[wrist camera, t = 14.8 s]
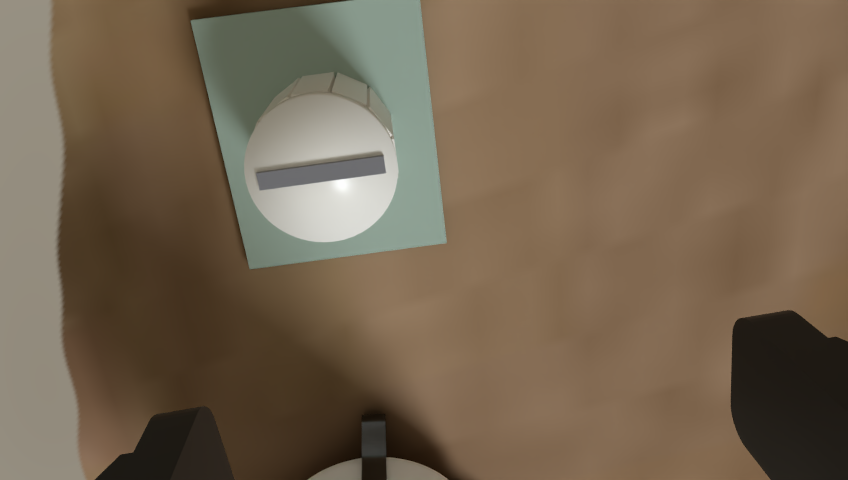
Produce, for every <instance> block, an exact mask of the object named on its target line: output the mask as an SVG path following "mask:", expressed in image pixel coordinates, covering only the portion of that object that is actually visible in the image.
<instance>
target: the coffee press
mask: <svg viewBox="0 0 848 480" xmlns="http://www.w3.org/2000/svg"><path fill="white" fill-rule="evenodd" d="M308 480H448V479H447V478H446V477H444V476H443V475H441V474H440V473H438V472H437V471H435V470H433V469H431V468H429V467H427V466H424V465H422V464H419V463H416V462H413V461H409V460H405V459H399V458H392V457H386V428H385V414H370V415H362V458H359V459H354V460H349V461H345V462H342V463H339V464H336V465H333V466H331V467H329V468H326V469H324V470H322V471H321V472H319V473H317V474H315V475H314V476H312V477H311V478H309V479H308Z"/></svg>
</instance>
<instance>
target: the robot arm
mask: <svg viewBox="0 0 848 480" xmlns="http://www.w3.org/2000/svg"><path fill="white" fill-rule="evenodd" d="M731 412H732V417H733V421H734V424H735V427H736V430H737V433H738V435H739V437H740V439H741V441H742V443H743V444H744V446H745V447H746V448H747V450H748V451H749V452H750V454H751V455H752V456H753V457H754V459H755V460H756V461H757V463H758V464H759V465H760V466H761V468H762V469H763V470H764V471H765V473H766V474H767V475H768V477H769V478H770V479H771V480H848V342H847V341H845V340H843V339H840V338H838V337H832V338H827V337H826V336H825V335H824V334H822V333H821V332H820V331H819V330H817V329H816V328H815V327H814V326H812V325H811V324H810V323H809V322H807V321H806V320H805V319H804V318H802V317H801V316H800V315H799V314H797V313H796V312H794V311H790V310H787V311H781V312H775V313H769V314H763V315H757V316H751V317H745V318H740V319H738V320H737V321H736V322H735V324H734V327H733V335H732V372H731ZM95 480H234V477H233V474H232V471H231V468H230V465H229V462H228V459H227V456H226V453H225V450H224V446H223V443H222V440H221V437H220V434H219V431H218V428H217V425H216V422H215V419H214V416H213V414H212V412H211V411H210V409H209V408H207V407H205V406H204V407H197V408H191V409H185V410H179V411H173V412H167V413H161V414H156V415H154V416H153V417H152V418H151V419H150V421H149V423H148V425H147V427H146V429H145V431H144V433H143V435H142V437H141V439H140V441H139V443H138V444H137V446H136V448H135V450H134V452H133V453H128V454H122V455H120V456H119V457H118V458H117V459H116V460H115V461H114V462H113V463H112V464H111V465H110V466H108V467H107V468H106V469H105V470H104V471H103V472H102V473H101V474H100V475H99V476H98V477H97V478H96V479H95Z"/></svg>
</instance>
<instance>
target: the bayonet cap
mask: <svg viewBox="0 0 848 480" xmlns="http://www.w3.org/2000/svg"><path fill="white" fill-rule="evenodd" d="M398 173H399V170H398V162H397V155H396V148H395V140H394V133H393V126H392V119H391V115H390V112H389V110H388V109H387V108H386V106H385V105H384V104H383V103H382V101H381V100H380V99H379V97H378V96H377V95H376V94H375V92H374V91H373V90H372V88H371V87H369V88H368V89H367V84H365V83H362V82H360V81H357V80H355V79H353V78H350V77H348V76H345V75H343V74H341V73H337V75H336V78H335V75H334V72H329V73H321V74H314V75H306V76H302V77H301V79H300V78H298V79H297V80H295V81H294V82H293V83H292V84H290V85H289V86H288V87H287V88H285V89H284V90H283V91H282V92H280V93H279V94H278V95H277V96H276V97H275V98H274V99H273V100H272V102H271V103H270V104H269V106H268V107H267V109H266V110H265V111H264V113H263V114H262V115H261V117H260V118H259V120H258V121H257V123H256V126H255V129H254V131H253V133H252V135H251V137H250V139H249V142H248V144H247V148H246V152H245V159H244V174H245V180H246V184H247V188H248V191H249V193H250V196H251V198H252V200H253V202H254V203H255V205H256V206H257V208H258V209H259V211H260V212H261V213H262V214H263V216H264V217H265V218H266V219H267V220H268V221H270V222H271V223H272V224H273V225H274V226H276V227H277V228H278V229H280V230H282V231H283V232H285V233H287V234H289V235H291V236H294V237H296V238H300V239H303V240H307V241H313V242H335V241H340V240H345V239H348V238H351V237H354V236H356V235H358V234H360V233H362V232H363V231H365V230H366V229H368V228H370V227H371V226H372V225H373V224H374V223H375V222H377V221H378V219H379V218H380V217H381V216H382V215H383V214H384V212H385V211H386V209H387V208H388V206H389V204H390V202H391V200H392V198H393V196H394V193H395V190H396V185H397V179H398Z"/></svg>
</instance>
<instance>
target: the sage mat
mask: <svg viewBox="0 0 848 480" xmlns="http://www.w3.org/2000/svg"><path fill="white" fill-rule="evenodd" d="M191 25H192V29H193V33H194V38H195V42H196V46H197V50H198V54H199V59H200V63H201V67H202V71H203V75H204V80H205V84H206V88H207V92H208V96H209V100H210V105H211V109H212V113H213V117H214V121H215V126H216V130H217V134H218V138H219V142H220V147H221V151H222V155H223V159H224V163H225V168H226V172H227V176H228V180H229V184H230V189H231V193H232V197H233V201H234V205H235V210H236V214H237V218H238V222H239V226H240V231H241V235H242V239H243V243H244V247H245V252H246V256H247V260H248V264H249V268H250V269H256V268H264V267H271V266H279V265H286V264H293V263H301V262H308V261H316V260H323V259H331V258H338V257H346V256H353V255H360V254H368V253H375V252H383V251H390V250H398V249H405V248H412V247H420V246H427V245H435V244H442V243H447V242H446V233H445V224H444V215H443V205H442V196H441V187H440V178H439V169H438V160H437V151H436V142H435V133H434V124H433V115H432V106H431V96H430V87H429V78H428V69H427V60H426V51H425V42H424V33H423V24H422V15H421V6H420V0H347V1H339V2H331V3H323V4H315V5H307V6H299V7H291V8H283V9H275V10H267V11H259V12H251V13H243V14H235V15H227V16H219V17H211V18H203V19H195V20H191ZM329 72H334V75H335V78H336V75H337V73H341V74H343V75H345V76H348V77H350V78H353V79H355V80H357V81H360V82H362V83H365V84H367V89H368V88H369V87H371V88H372V90H373V91H374V92H375V94H376V95H377V96H378V97H379V99H380V100H381V101H382V103H383V104H384V105H385V106H386V108H387V109H388V110H389V112H390V115H391V119H392V126H393V133H394V140H395V148H396V155H397V162H398V170H399V173H398V179H397V185H396V190H395V193H394V196H393V198H392V200H391V202H390V204H389V206H388V208H387V209H386V211H385V212H384V214H383V215H382V216H381V217H380V218H379V219H378V221H377V222H375V223H374V224H373V225H372V226H371V227H370V228H368V229H366V230H365V231H363V232H362V233H360V234H358V235H356V236H354V237H351V238H348V239H345V240H340V241H335V242H313V241H307V240H303V239H300V238H296V237H294V236H291V235H289V234H287V233H285V232H283V231H282V230H280V229H278V228H277V227H276V226H274V225H273V224H272V223H271V222H270V221H268V220H267V219H266V218H265V217H264V216H263V214H262V213H261V212H260V211H259V209H258V208H257V206H256V205H255V203H254V202H253V200H252V198H251V196H250V193H249V191H248V188H247V184H246V180H245V174H244V159H245V152H246V148H247V144H248V142H249V139H250V137H251V135H252V133H253V131H254V129H255V126H256V123H257V121H258V120H259V118H260V117H261V115H262V114H263V113H264V111H265V110H266V109H267V107H268V106H269V104H270V103H271V102H272V100H273V99H274V98H275V97H276V96H277V95H278V94H279V93H280V92H282V91H283V90H284V89H285V88H287V87H288V86H289V85H290V84H292V83H293V82H294V81H295V80H297V79H298V78H300V79H301V77H302V76H306V75H314V74H321V73H329Z"/></svg>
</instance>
